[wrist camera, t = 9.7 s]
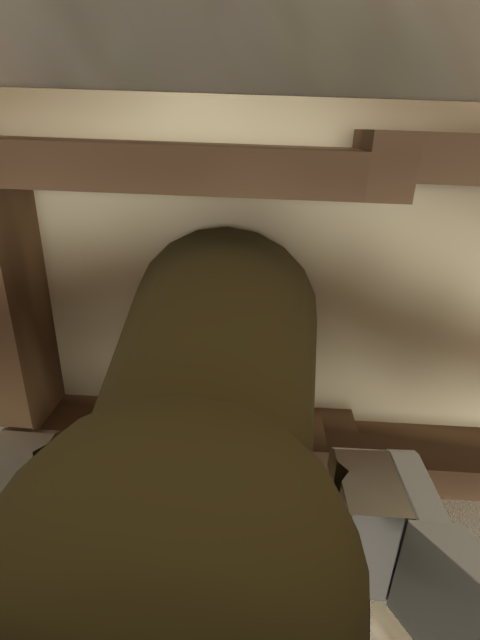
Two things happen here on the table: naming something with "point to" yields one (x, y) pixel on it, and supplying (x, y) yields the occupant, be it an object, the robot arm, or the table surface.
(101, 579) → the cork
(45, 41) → the table surface
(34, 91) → the wooden tray
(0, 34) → the table surface
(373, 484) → the robot arm
